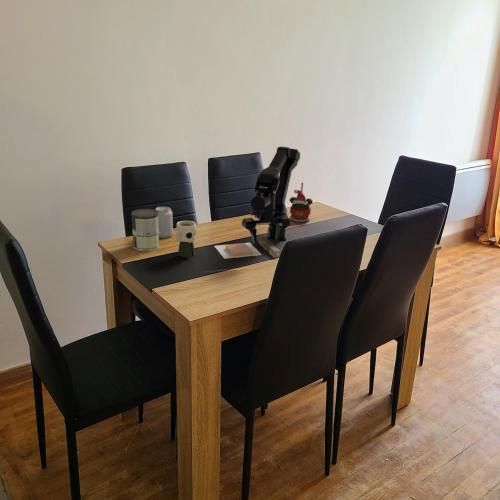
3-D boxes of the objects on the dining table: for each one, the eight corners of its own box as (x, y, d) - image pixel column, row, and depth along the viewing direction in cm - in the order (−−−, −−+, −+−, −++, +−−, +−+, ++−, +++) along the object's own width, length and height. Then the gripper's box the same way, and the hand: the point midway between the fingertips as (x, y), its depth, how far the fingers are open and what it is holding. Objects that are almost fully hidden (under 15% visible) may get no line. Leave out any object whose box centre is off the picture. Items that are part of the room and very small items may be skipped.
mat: (249, 244, 206) (249, 242, 206) (261, 256, 194) (261, 254, 194) (214, 247, 201) (214, 245, 201) (224, 260, 189) (224, 258, 189)
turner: (264, 244, 206) (264, 236, 205) (279, 258, 192) (280, 250, 191) (258, 245, 206) (259, 237, 204) (273, 259, 192) (273, 250, 190)
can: (169, 239, 209) (168, 211, 204) (152, 237, 210) (151, 210, 206) (175, 233, 215) (174, 206, 211) (158, 232, 217) (157, 205, 212)
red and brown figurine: (312, 218, 243) (315, 181, 237) (309, 223, 235) (312, 186, 228) (290, 216, 246) (292, 179, 239) (287, 221, 237) (289, 184, 231)
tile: (244, 243, 201) (252, 250, 193) (244, 246, 201) (252, 254, 193) (225, 244, 198) (232, 252, 190) (225, 248, 199) (232, 256, 191)
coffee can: (127, 247, 199) (125, 212, 194) (146, 240, 207) (145, 207, 202) (145, 253, 193) (144, 218, 188) (165, 246, 201) (164, 212, 196)
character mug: (184, 262, 186) (183, 228, 181) (169, 257, 190) (168, 224, 185) (203, 254, 194) (203, 221, 190) (189, 250, 198) (188, 218, 193)
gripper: (281, 198, 206) (279, 234, 212) (237, 200, 200) (236, 238, 206) (292, 205, 196) (290, 243, 202) (247, 208, 190) (245, 247, 196)
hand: (265, 242), depth 202 cm, fingers open, 9 cm apart
